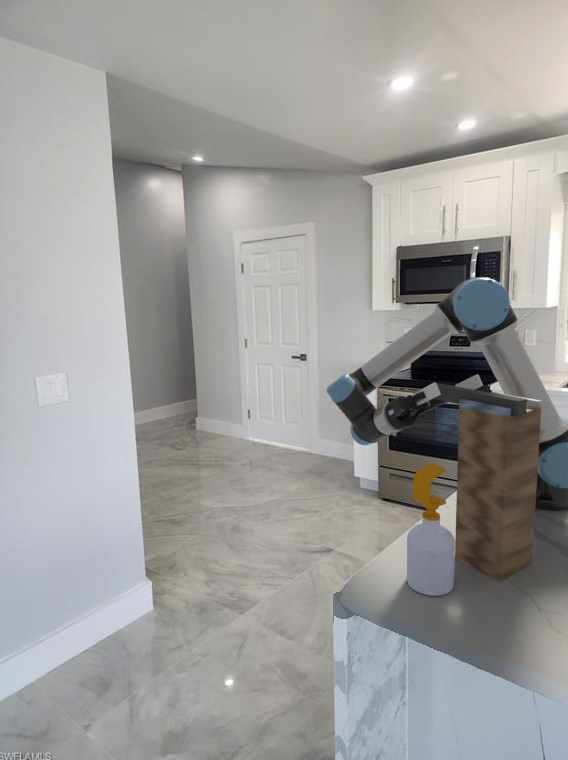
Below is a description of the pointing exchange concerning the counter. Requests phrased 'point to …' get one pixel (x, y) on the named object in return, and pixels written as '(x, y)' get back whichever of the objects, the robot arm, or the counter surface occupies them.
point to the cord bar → (482, 398)
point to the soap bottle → (430, 541)
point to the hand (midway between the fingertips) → (459, 384)
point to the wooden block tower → (496, 486)
